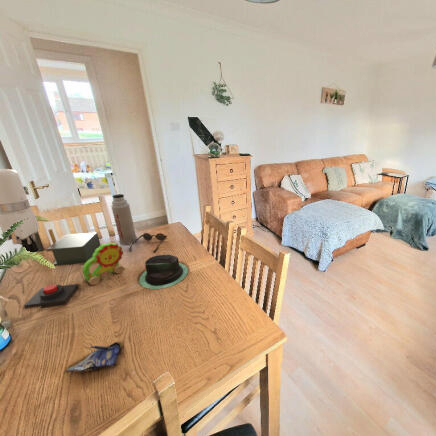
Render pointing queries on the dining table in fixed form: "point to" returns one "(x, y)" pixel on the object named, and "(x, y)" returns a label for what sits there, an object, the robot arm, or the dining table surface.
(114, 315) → the dining table surface
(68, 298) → the control block
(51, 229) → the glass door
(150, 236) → the eyeglasses
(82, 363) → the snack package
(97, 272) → the toy lion
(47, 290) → the red button
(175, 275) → the black fedora hat
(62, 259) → the dark green box
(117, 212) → the thermos bottle
